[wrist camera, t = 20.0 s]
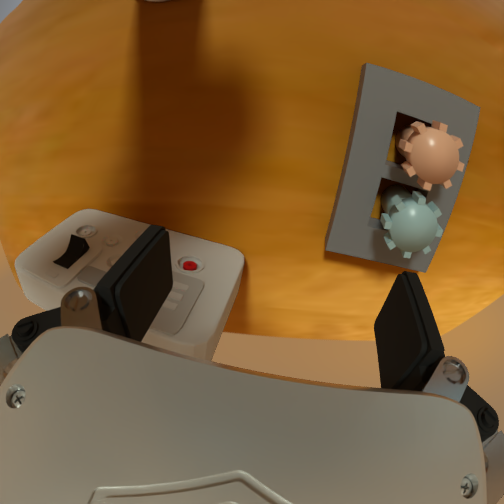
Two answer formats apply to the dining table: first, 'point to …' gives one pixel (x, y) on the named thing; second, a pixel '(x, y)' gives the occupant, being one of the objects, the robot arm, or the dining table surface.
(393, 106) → the housing
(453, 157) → the jaw gear
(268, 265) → the dining table surface
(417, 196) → the jaw gear
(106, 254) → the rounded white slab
